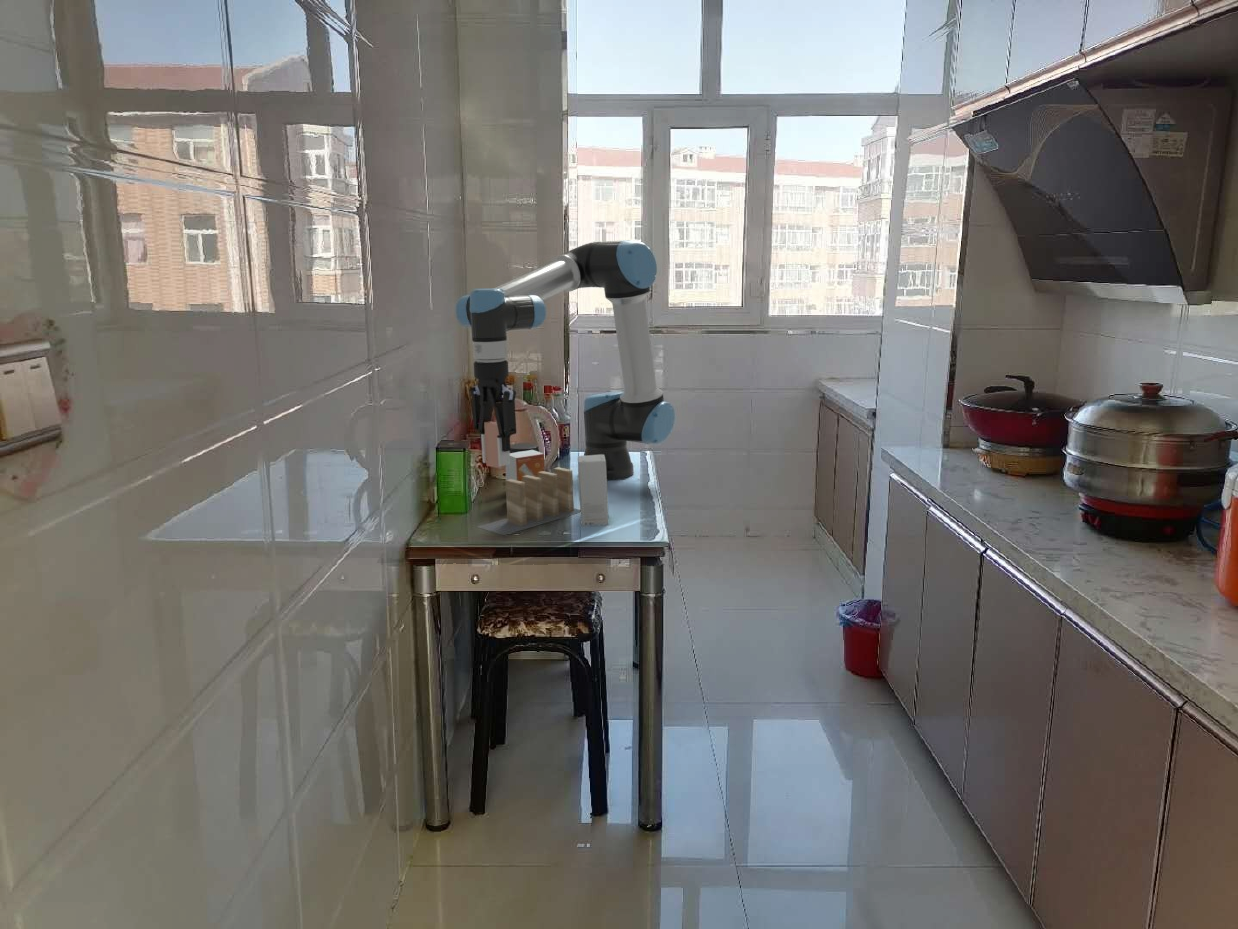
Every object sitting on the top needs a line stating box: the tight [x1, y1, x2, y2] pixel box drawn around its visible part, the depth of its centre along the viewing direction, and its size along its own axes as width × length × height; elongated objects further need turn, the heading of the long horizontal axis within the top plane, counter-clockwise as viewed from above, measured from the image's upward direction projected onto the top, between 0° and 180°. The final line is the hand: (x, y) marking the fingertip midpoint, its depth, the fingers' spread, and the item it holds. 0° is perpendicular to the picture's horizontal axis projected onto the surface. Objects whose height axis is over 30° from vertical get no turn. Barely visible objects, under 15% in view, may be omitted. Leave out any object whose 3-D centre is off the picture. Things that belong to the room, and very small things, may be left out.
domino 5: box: [552, 466, 575, 512], centre depth 226 cm, size 2×5×10 cm, turn 46°
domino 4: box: [538, 470, 559, 516], centre depth 222 cm, size 2×5×10 cm, turn 46°
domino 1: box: [484, 420, 506, 470], centre depth 208 cm, size 2×5×10 cm, turn 46°
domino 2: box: [504, 479, 527, 526], centre depth 215 cm, size 2×5×10 cm, turn 46°
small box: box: [505, 450, 546, 482], centre depth 233 cm, size 8×6×13 cm
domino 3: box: [522, 475, 543, 521], centre depth 219 cm, size 2×5×10 cm, turn 46°
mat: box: [477, 507, 581, 536], centre depth 219 cm, size 25×10×1 cm, turn 136°
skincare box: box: [577, 454, 610, 527], centre depth 215 cm, size 8×7×16 cm
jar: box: [509, 442, 540, 453], centre depth 247 cm, size 9×8×12 cm
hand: (496, 463), depth 209 cm, fingers closed on domino 1, 5 cm apart
